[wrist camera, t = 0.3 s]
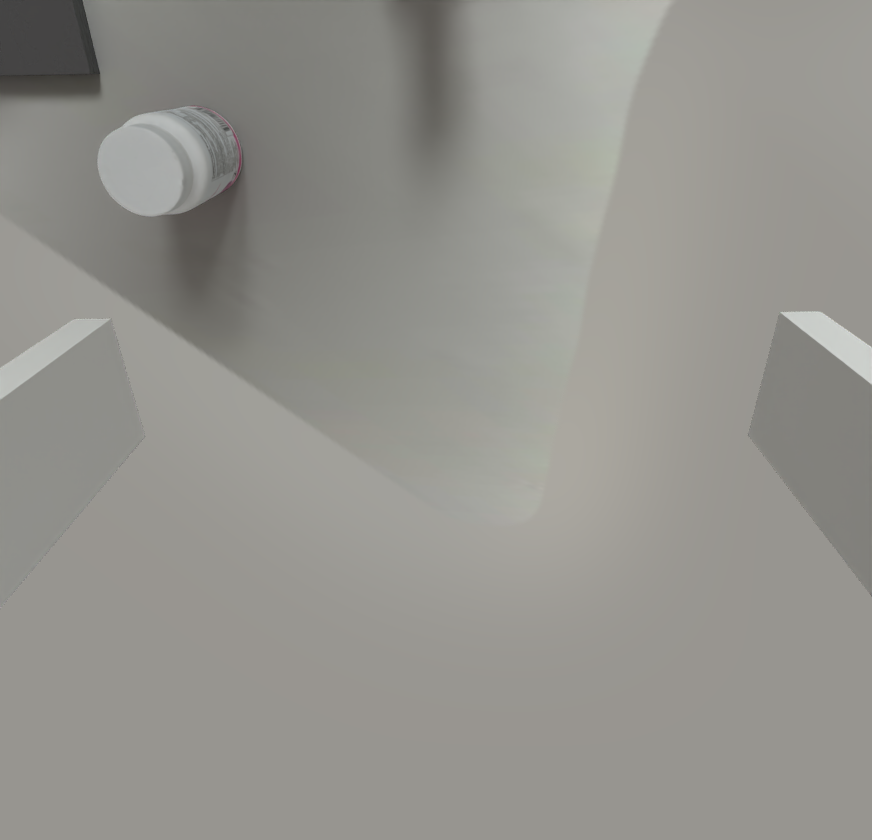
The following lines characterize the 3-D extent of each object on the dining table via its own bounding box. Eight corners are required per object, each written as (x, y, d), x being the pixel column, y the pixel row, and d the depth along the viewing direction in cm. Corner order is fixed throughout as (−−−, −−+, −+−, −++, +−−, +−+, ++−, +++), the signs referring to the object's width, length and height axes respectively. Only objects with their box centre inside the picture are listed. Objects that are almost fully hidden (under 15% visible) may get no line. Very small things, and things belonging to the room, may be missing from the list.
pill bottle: (182, 202, 38) (116, 235, 31) (147, 117, 36) (67, 130, 28) (256, 183, 37) (207, 213, 30) (226, 95, 35) (163, 104, 28)
